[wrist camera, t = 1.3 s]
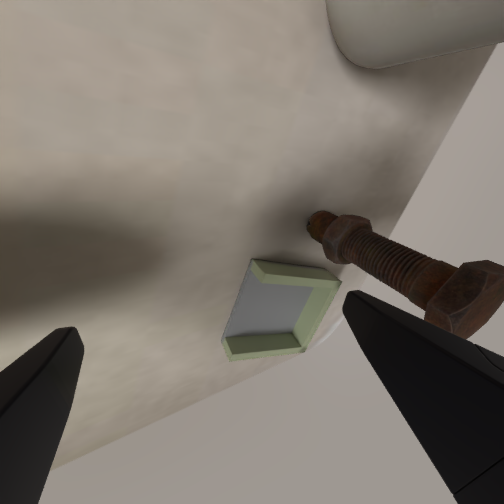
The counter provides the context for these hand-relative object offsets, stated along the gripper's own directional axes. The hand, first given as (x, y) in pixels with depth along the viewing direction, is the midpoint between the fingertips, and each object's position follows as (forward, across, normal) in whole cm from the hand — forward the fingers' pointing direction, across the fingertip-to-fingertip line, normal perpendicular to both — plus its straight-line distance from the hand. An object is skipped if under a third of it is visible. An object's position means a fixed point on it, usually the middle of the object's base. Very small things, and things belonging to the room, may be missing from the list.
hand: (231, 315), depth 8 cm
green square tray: (+14, -8, +13) cm, 21 cm away
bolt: (+15, -12, +3) cm, 20 cm away
